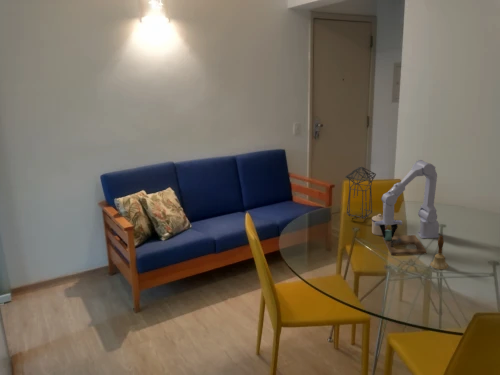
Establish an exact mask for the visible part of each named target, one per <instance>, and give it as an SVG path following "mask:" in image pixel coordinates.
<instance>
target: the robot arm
mask: <svg viewBox="0 0 500 375" xmlns="http://www.w3.org/2000/svg"><path fill="white" fill-rule="evenodd" d="M417 177H425V185H424V194H423V203H422V204H421V205H420V206H419V207H420V208H419V210H418V212H417V213H418V216H419V219H420V224H419V231H417V234H418V235H419V237H420V238H421V239H439V237H440V235H439V233H440V232H439V230H440V225H439V224H440V223H439V221H438V220H437V219H438V214H437V209H436V207H435V199H436V197H435V196H436V188H437V182H438V181H437V180H438V179H437V178H438V174H437V170H436V166H435V165H434V164H432V163H429V162H427V161H424V160H423V159H418V160H416V162H414V164H412V167H411V169H410V170H409V171H408V172H407V173H406V175H405V176H404V177H403V178H402V179H401V181H400V182H396V183H394V184H393V186H392V187H391V188H390V189H389V190H388V191H387V192H385V193H383V194H382V196H381V198H380V200H381V201H382V211H383V212H382V216H383V220H382V221H377V222H375V226H380V228H381V231H382V234H383V235H382V239H383V238H385V226H384V225H387V226H390V230H391V231H392V237H393V236H395V234H396V231H397V229H399V228H398V227H399V226H403V221H402V220H398V219H397V220H395V204H397V202H398V201H397V200H398V198H399V197H400V196H401V195H402V194H403V193H404V191H406V187H407V186H408V185H409V184H410V183H411V182H412V181H414V179H415V178H417ZM398 225H399V226H398Z"/></svg>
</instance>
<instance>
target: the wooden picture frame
mask: <svg viewBox="0 0 500 375" xmlns="http://www.w3.org/2000/svg"><path fill="white" fill-rule="evenodd" d="M398 238H401V243H394V244H393V247H391V241H386V240H384V238H383V237H382V240H383V242H384V244H385V247H386V248H387V250H388V252H389V253H390V255H391V256H397V255H396V254H406V255H427V250H426V248H425V247H424V245H423V244H422V242H421V241H420V239H419V238H418V237H417V236H416V234H412V235H411V234H410V235H409V234H408V235H407V234H405V235H394V236H393V237H392V240H398ZM411 245H413V246H415V248H404V249H396V248H395V246H411ZM424 253H426V254H424Z"/></svg>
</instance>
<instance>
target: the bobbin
mask: <svg viewBox="0 0 500 375" xmlns="http://www.w3.org/2000/svg"><path fill="white" fill-rule="evenodd" d="M384 240H386V241H391V240H392V231H391V229H387V230H385V238H384Z"/></svg>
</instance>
